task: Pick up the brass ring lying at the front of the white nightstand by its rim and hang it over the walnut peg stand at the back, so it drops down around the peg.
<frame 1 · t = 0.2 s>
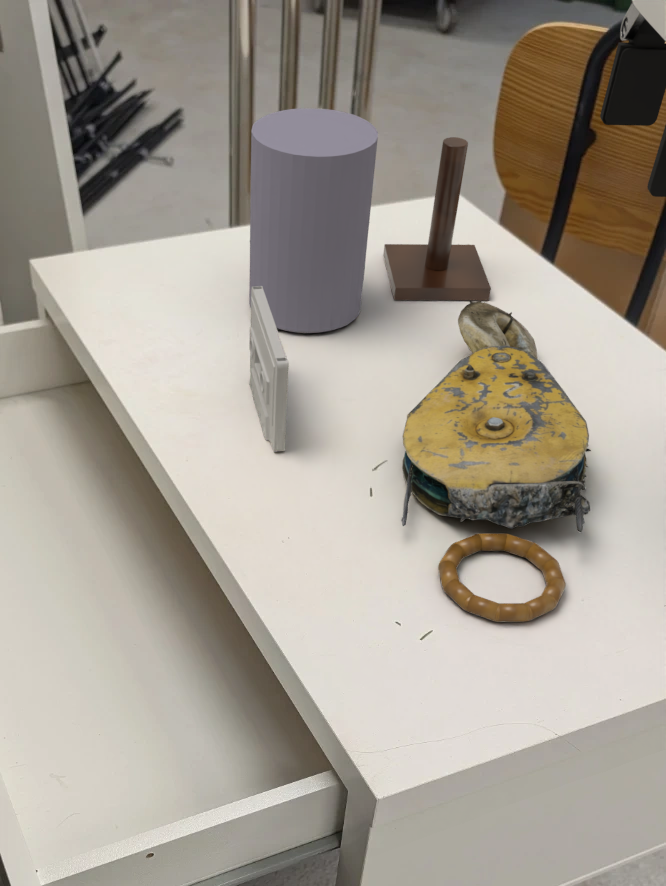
hand: (650, 157, 56), 25 cm above the nightstand, tool pointing down, fingers open, 9 cm apart
cassette: (266, 413, 83), on the nightstand
pulley block: (493, 437, 82), on the nightstand
peg stand: (434, 277, 99), on the nightstand
container: (304, 309, 95), on the nightstand
ring: (501, 576, 70), point 1 cm above the nightstand
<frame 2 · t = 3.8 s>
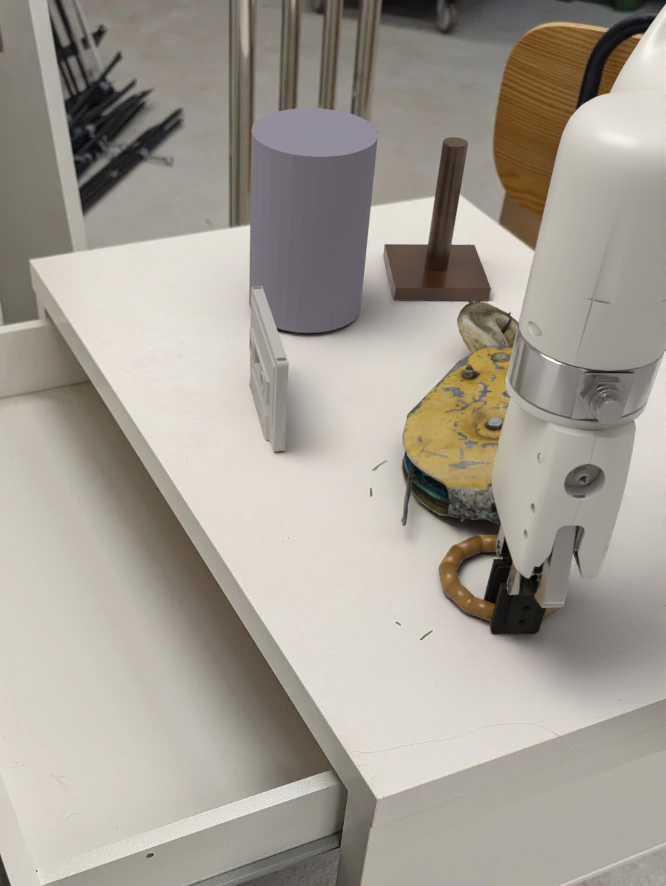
hand: (510, 617, 68), 0 cm above the nightstand, tool pointing down, fingers closed on ring, 1 cm apart
ring: (501, 577, 70), point 1 cm above the nightstand, touching gripper
everything else where it was.
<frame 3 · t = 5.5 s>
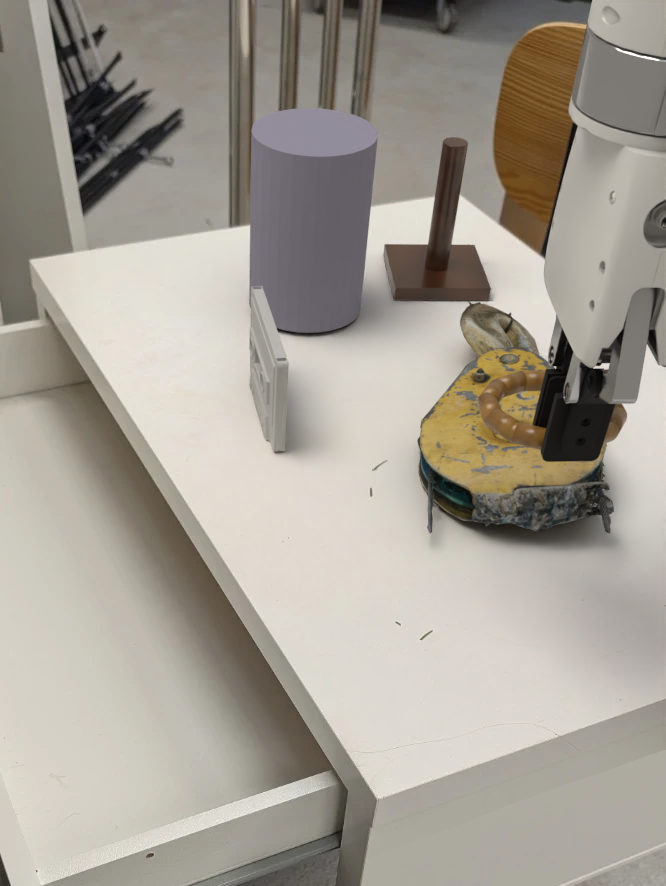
hand: (564, 444, 58), 13 cm above the nightstand, tool pointing down, fingers closed on ring, 1 cm apart
ring: (551, 409, 60), point 14 cm above the nightstand, touching gripper
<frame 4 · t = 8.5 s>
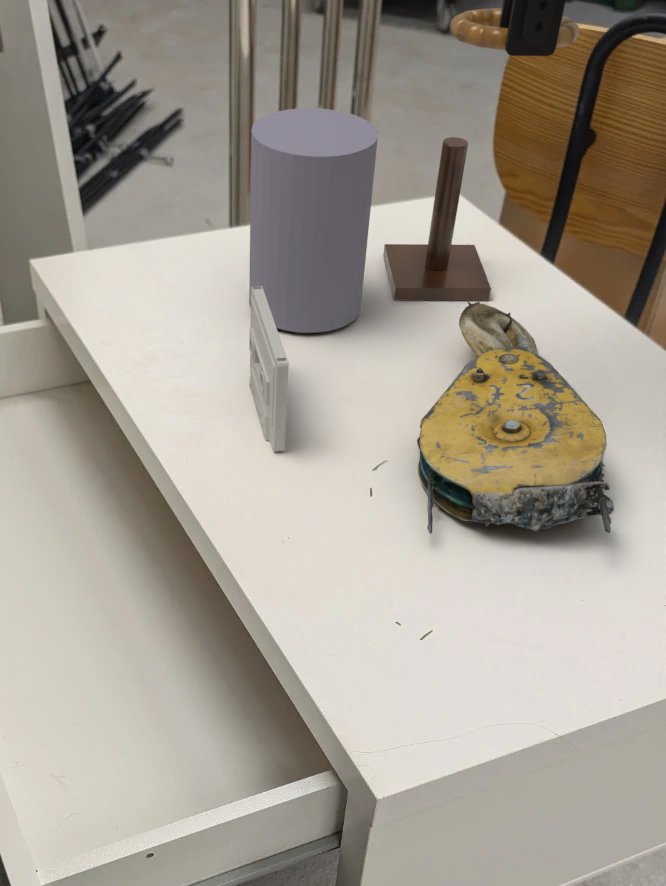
hand: (525, 46, 67), 25 cm above the nightstand, tool pointing down, fingers closed on ring, 1 cm apart
ring: (514, 29, 69), point 25 cm above the nightstand, tilted 6°, touching gripper
everything else where it was.
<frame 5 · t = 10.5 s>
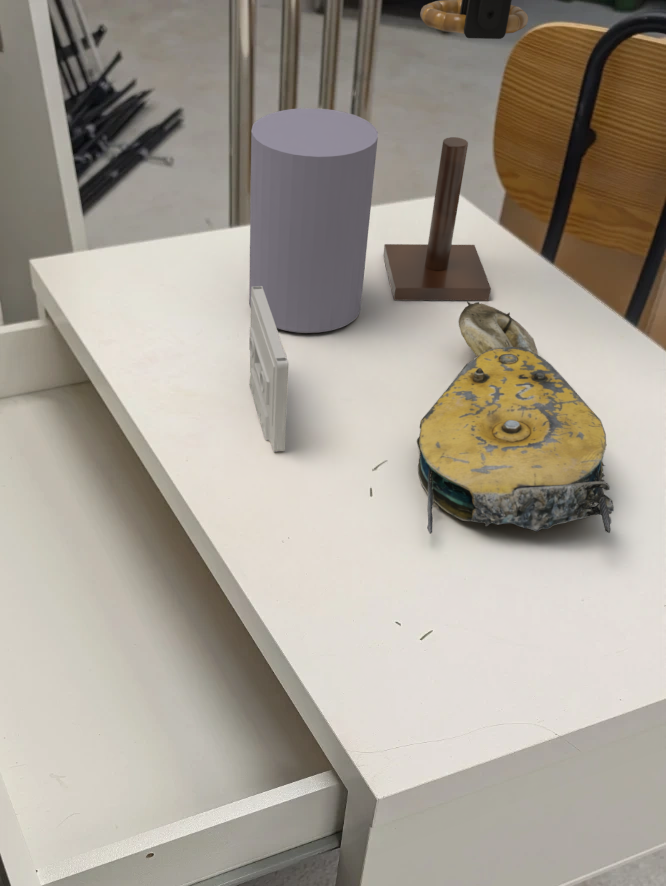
hand: (481, 30, 80), 22 cm above the nightstand, tool pointing down, fingers closed on ring, 1 cm apart
ring: (473, 16, 82), point 22 cm above the nightstand, tilted 6°, touching gripper
everything else where it was.
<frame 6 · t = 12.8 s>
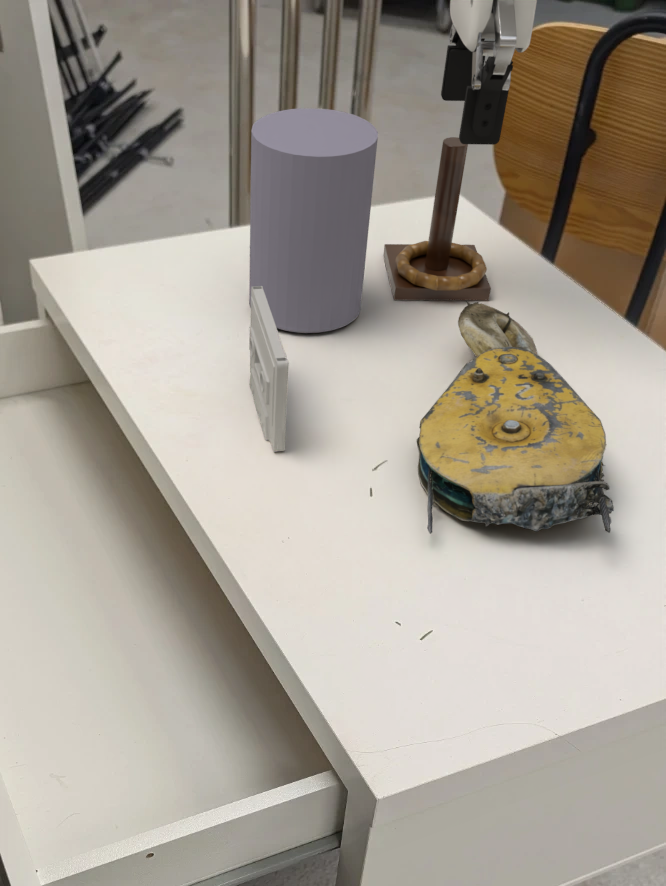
hand: (468, 120, 85), 15 cm above the nightstand, tool pointing down, fingers open, 9 cm apart
ring: (440, 265, 97), point 2 cm above the nightstand, touching peg stand
everything else where it was.
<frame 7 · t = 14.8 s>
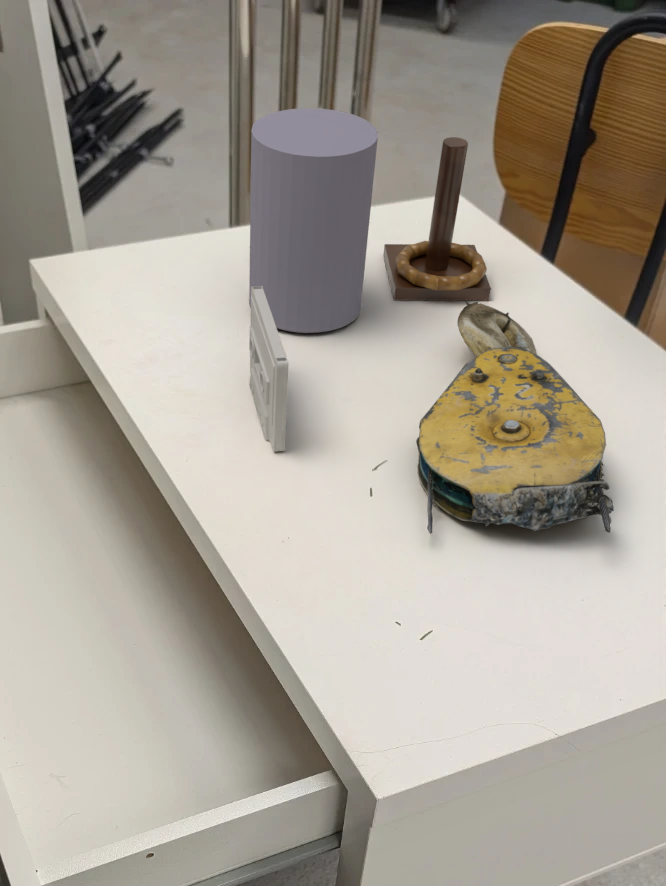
nothing on the nightstand moved.
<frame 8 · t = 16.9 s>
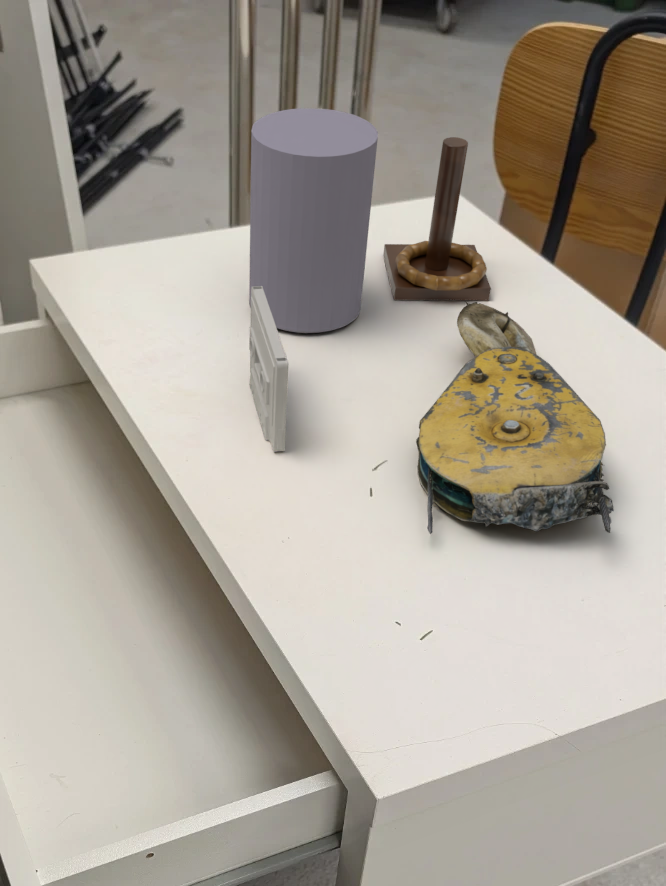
nothing on the nightstand moved.
at the end: ring 1.2 cm from the peg stand (horizontally); ring point 1.8 cm above the nightstand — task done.
